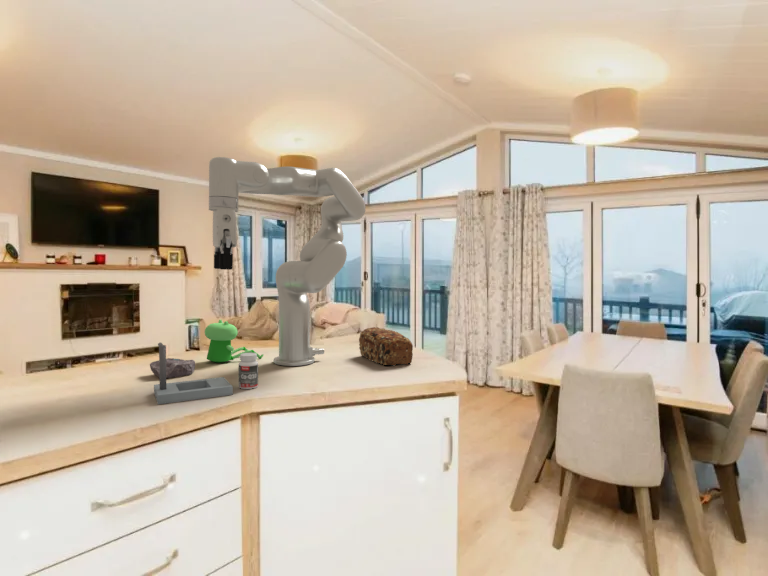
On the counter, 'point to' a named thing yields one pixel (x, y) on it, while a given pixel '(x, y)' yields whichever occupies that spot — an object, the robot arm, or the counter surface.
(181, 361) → the rock
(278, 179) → the robot arm
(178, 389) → the gray slotted post stand
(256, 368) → the pill bottle
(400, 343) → the bread
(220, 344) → the toy character
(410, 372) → the counter surface
